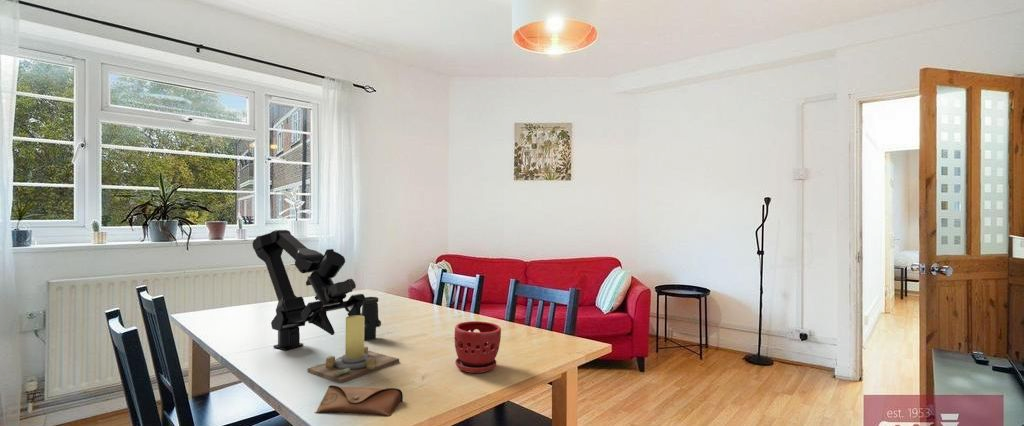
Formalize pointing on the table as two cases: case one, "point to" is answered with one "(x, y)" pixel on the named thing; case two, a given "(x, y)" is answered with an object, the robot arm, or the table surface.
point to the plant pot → (476, 346)
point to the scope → (370, 317)
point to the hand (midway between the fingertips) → (347, 330)
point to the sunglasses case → (360, 400)
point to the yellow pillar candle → (354, 340)
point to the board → (351, 367)
